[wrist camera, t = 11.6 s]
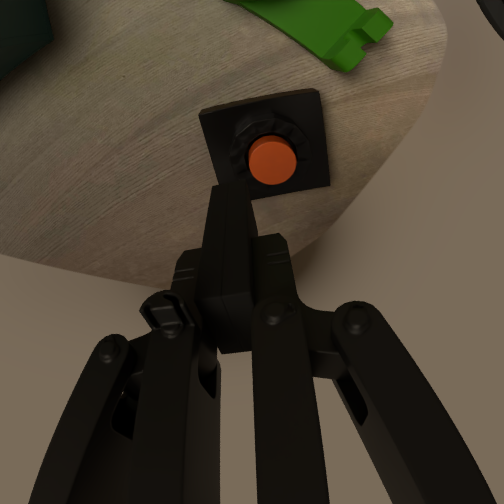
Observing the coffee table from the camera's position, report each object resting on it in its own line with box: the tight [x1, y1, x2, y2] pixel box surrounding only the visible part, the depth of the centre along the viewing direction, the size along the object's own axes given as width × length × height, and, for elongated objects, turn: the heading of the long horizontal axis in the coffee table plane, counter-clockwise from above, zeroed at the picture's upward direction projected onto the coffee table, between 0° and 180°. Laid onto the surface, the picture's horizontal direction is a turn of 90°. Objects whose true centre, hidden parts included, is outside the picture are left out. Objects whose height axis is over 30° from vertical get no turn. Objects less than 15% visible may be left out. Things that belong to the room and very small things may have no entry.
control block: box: [198, 88, 330, 200], centre depth 24 cm, size 10×9×4 cm
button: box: [249, 135, 296, 185], centre depth 22 cm, size 4×4×2 cm
